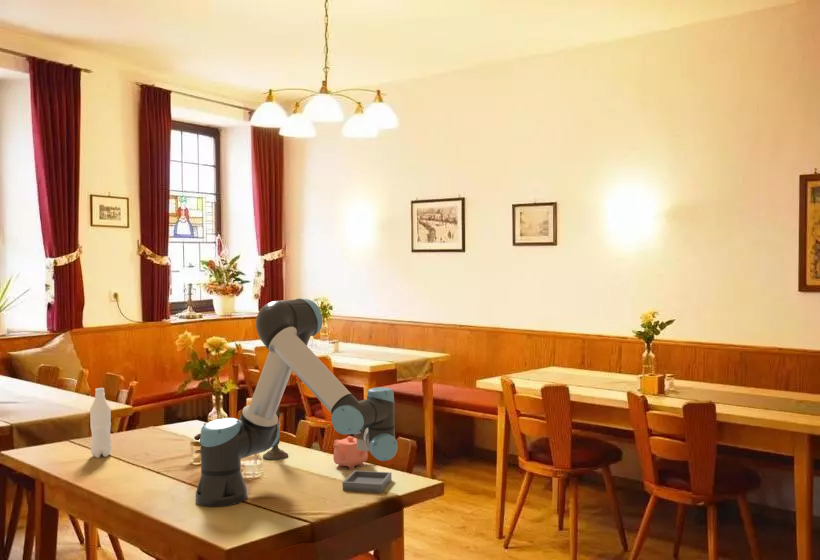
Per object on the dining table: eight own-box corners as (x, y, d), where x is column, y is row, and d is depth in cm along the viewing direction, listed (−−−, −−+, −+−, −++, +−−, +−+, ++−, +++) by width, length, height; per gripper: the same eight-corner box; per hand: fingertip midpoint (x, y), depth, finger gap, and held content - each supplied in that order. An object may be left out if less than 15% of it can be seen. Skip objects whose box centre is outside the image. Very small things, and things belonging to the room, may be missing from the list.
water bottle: (88, 455, 271) (86, 388, 270) (107, 452, 276) (106, 386, 275) (94, 459, 266) (93, 391, 265) (114, 455, 271) (113, 388, 270)
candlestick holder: (276, 461, 261) (275, 377, 260) (257, 458, 266) (255, 375, 265) (293, 455, 269) (292, 374, 268) (274, 452, 274) (273, 372, 273)
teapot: (334, 460, 263) (333, 432, 262) (367, 459, 264) (367, 431, 263) (333, 472, 249) (332, 442, 248) (368, 471, 249) (367, 441, 249)
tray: (381, 492, 227) (381, 484, 227) (342, 490, 229) (342, 482, 229) (391, 480, 239) (391, 472, 239) (354, 477, 242) (354, 470, 242)
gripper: (341, 450, 214) (332, 432, 236) (409, 445, 218) (395, 428, 241) (341, 425, 214) (332, 409, 236) (409, 420, 218) (394, 405, 240)
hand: (363, 419), depth 238 cm, fingers closed on coffee cup, 8 cm apart
